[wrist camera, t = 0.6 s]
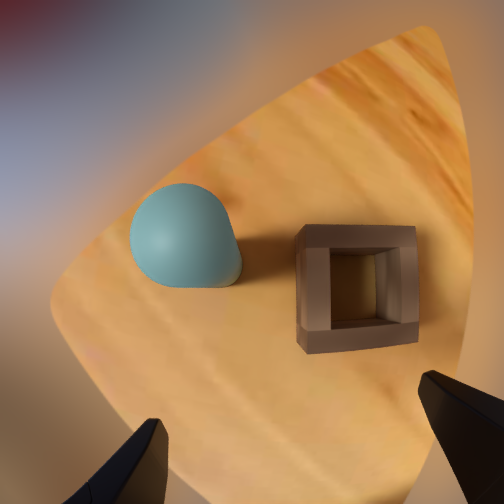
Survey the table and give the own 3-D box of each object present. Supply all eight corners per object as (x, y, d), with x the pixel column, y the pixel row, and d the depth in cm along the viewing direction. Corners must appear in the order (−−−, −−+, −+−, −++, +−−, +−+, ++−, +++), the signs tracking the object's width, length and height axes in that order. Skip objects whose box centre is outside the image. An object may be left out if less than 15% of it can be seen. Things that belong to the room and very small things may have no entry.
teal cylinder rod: (242, 287, 22) (231, 287, 10) (196, 287, 22) (128, 286, 10) (242, 240, 23) (231, 181, 10) (196, 241, 23) (133, 186, 10)
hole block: (391, 333, 22) (418, 341, 17) (296, 341, 22) (307, 354, 17) (388, 236, 23) (415, 226, 18) (295, 236, 23) (305, 224, 18)
